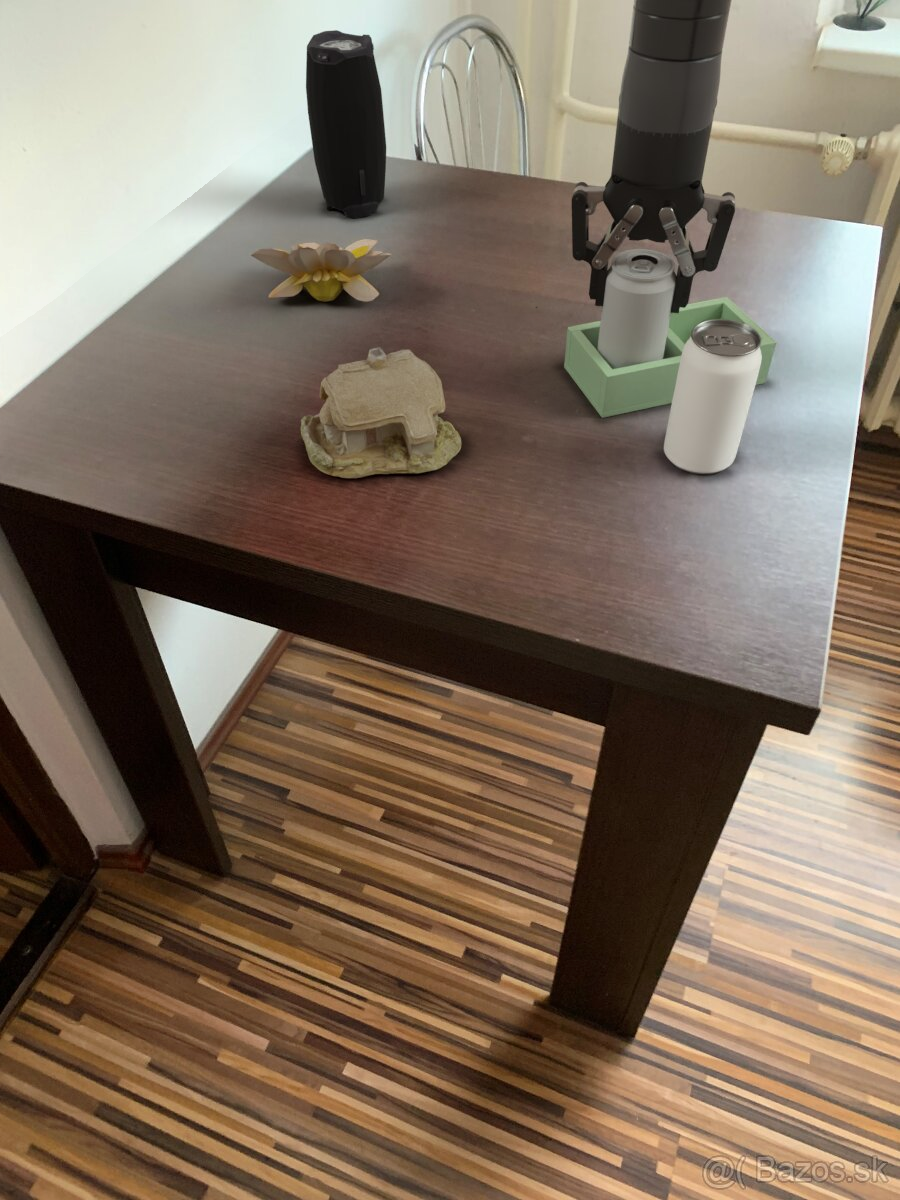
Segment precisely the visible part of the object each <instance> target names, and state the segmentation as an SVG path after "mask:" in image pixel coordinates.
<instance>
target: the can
mask: <svg viewBox="0 0 900 1200" xmlns="http://www.w3.org/2000/svg"><path fill="white" fill-rule="evenodd" d="M760 345H761V336H760V335H759V333H758V332H757V331H756V330H755V329H754V328H752V327H750V326H749V325H747V324H744V323H741V322H738V321H734V320H728V319H713V320H707V321H704V322H701V323H699V324H697V325H696V326H695V327H694V328H693V329H692V331H691V337H690V338H689V339H688V341H687V342H686V343H685V345H684V348H683V351H682V355H681V360H680V365H679V370H678V375H677V380H676V385H675V390H674V395H673V400H672V403H671V406H670V410H669V415H668V421H667V426H666V432H665V436H664V442H663V452H664V454H665V456H666V458H667V459H668V460H669V461H670V463H671V464H672V465H673V466H674V467H676V468H678V469H680V470H683V471H684V472H687V473H691V474H696V475H712V474H713V475H714V474H717V473H719V472H721V471H724V470H725V469H727V468H729V467H730V466H731V465H732V464H733V463H734V461H735V460H736V457H737V454H738V450H739V447H740V443H741V439H742V435H743V432H744V429H745V425H746V422H747V418H748V415H749V414H748V413H749V410H750V407H751V403H752V399H753V395H754V392H755V388H756V386H757V385H756V381H757V377H758V373H759V370H760V365H761V360H762V354H761V350H760Z"/></svg>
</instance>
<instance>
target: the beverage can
mask: <svg viewBox="0 0 900 1200" xmlns="http://www.w3.org/2000/svg"><path fill="white" fill-rule="evenodd" d="M675 268H676V262H675V261H674V259H673V258H672V257H671V256H669V255H668V254H666V253H663V252H660V251H658V250H654V249H647V248H633V249H627V250H624V251H621V252H618V253H616V254H615V255H614V256H613V257H612V259H611V265H610V267H608V269H607V273H606V280H605V289H604V297H603V306H601V313H600V321H601V322H600V331H599V340H598V348H597V351H598V352H599V354H600V355H601V356H602V357H603V358H604V360H605V361H606V362H607V363H608V365H609V366H610V367H611V368H612V369H617V368H622V367H627V366H632V365H637V364H642V363H647V362H652V361H657V360H662V359H663V355H664V350H665V344H666V338H667V333H668V327H669V322H670V316H671V309H672V304H673V298H674V292H675V287H676V281H677V273H676V271H675V270H676V269H675Z"/></svg>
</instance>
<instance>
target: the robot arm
mask: <svg viewBox="0 0 900 1200" xmlns="http://www.w3.org/2000/svg"><path fill="white" fill-rule="evenodd" d="M731 5H732V0H633V7H632V14H631V23H630V32H629V40H628V41H629V42H628V49H627V55H626V59H625V63H624V68H623V72H622V76H621V77H622V78H621V83H620V90H619V91H620V92H619V97H618V110H617V119H616V126H615V127H616V128H615V138H614V144H613V145H614V146H613V155H612V162H611V163H612V165H611V173H610V177H609V179H608V180H607V182H606V183H605V185H604V186H589V185H588V183H586V182H584V181H579V182H577V183H576V184H575V185H574V189H573V193H572V196H571V237H572V238H571V249H572V252H571V253H572V254H571V255H572V258H573V259H574V260H575V261H579V262H581V261H583V262H586V263H587V264H588V265H589V266H590V269H591V270H590V278H589V288H588V297H589V300H594V301H595V302H594V306H595V307H602V306H603V297H604V289H605V280H606V273H607V270H608V269H609V260H610V259H611V257H612V256H613V254H614V253H615V252H616V251H618V249H619V248H620V247H621V245H622V244H623V242H624V241H625V240H626V238H628V240H629V241H635V242H640V241H644V240H649V241H651V242H654V243H659V244H660V243H661V244H666V241H668V242H669V246H670V248H671V251H672V253H673V256H674V257H675V258H676V261H677V264H678V265H677V271H676V276H677V281H676V287H675V292H674V298H673V304H672V309H671V313H679V309H680V307H682V308H685V307H686V306H687V304H689V302H690V296H691V291H692V285H693V280H694V277H695V275H696V274H698V273H699V272H704V271H706V272H708V273H709V272H710V273H711V272H714V271H716V270H717V268H718V266H719V262H720V259H721V256H722V254H723V250H724V248H725V245H726V241H727V237H728V235H729V231H730V229H731V225H732V222H733V219H734V216H735V213H736V196H735V194H734V193H732V192H730V191H727V192H726V191H725V192H724V193H723V194H722V195H718V194H713V193H707V192H706V191H705V189H704V187H703V178H704V172H705V166H706V161H707V156H708V149H709V144H710V139H711V135H712V128H713V122H714V117H715V112H716V108H717V105H718V95H719V89H720V83H721V70H722V69H721V68H722V55H723V48H724V43H725V37H726V32H727V27H728V22H729V15H730V10H731ZM602 202H603V204H604V206H605V207H606V209H607V210H608V212H609V214H610V216H611V217H612V221H611V222H610V223H609V226H608V227H607V229H606V230H605V233H604V235H602V237H601V238H600V240H599V241H598V243H594V242H593V241H591V240H590V235H589V234H590V219H589V218H590V216H592V215H594V213H595V212H596V211H597V206H598V205H599V204H601V203H602ZM702 209H703V210H705V211H706V213H707V214H706V215H707V216H706V219H707V222H708V223H709V224H710V225H711V228H710V231H709V235H708V237H707V241H706V244H705V247H704V249H703V250H699V251H695V249H694V246H693V243H692V241H691V237H690V232H689V229H688V226H687V224H688V223H690V222H691V220H692V219H693V218H694V217H695V216H696V215H697V214H698V213H700V211H701V210H702Z"/></svg>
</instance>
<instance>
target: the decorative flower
mask: <svg viewBox="0 0 900 1200" xmlns="http://www.w3.org/2000/svg"><path fill="white" fill-rule="evenodd" d="M378 242H379V241H378V240H376V239H369V238H364V239H359V240H356V241H354V242H353V243H350V244H349V245H347V246H346V248H344V249H343V247H339V246H338V245H336V244H335V243H333V242H324V243H321V244H319V243H317V242H304V243H299V244H293V245H292V247H291V252H288V251H286V250H284V249H280V248H260V249H258V250H257V251H255V252H253V253H252V254H251V255H250V256H251V257H253V258H254V259H256V260H258V261H259V262H261V263H263V264H264V265H266V266H269V267H271V268H273V269H275V270H278V271H280V272H282V273H285V274H287V275H290V276H289V277H287V278H286V279H284V280H283V281H282V282H281V283H279V284H278V285H277V286H276V287H275V288H273V290H271V292H270V293H269V294H268V298H283V297H284V298H285V297H295V296H296V295H298V294H299V293H300V292H301V291H302V290H303V288H305V289H306V290H307V292H308V293H309V294H310V295H311V297H312V298H314V299H315V300H317V301H319V302H325V303H326V302H331V301H332V302H333V301H334V300H335V299H336V298H337V297H338V296H339V295H340V294H341V293H342V292H343V290H344V291H345V292H346V293H348V295H349V296H351V297H352V298H354V299H355V300H357V301H361V302H372V301H374V300H375V299H376V298H378V296H379V295H380V292H379V291H378V290H377V289H376V288H375V287H374V286H373V285H372V284H371V283H369V281H367V280H366V279H365V278H364V277H363V276H361V275H362V274H364V273H366V272H368V271H370V270H372V269H374V268H375V267H377V266H379V265H380V264H381V263H382V262H384V261H385V260H386V259H388V258H389V257H391V256H392V253H390V252H386V253H384V252H383V251H380V250H373V249H374V247H375V246H376V245H377V244H378ZM372 250H373V251H372Z"/></svg>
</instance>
